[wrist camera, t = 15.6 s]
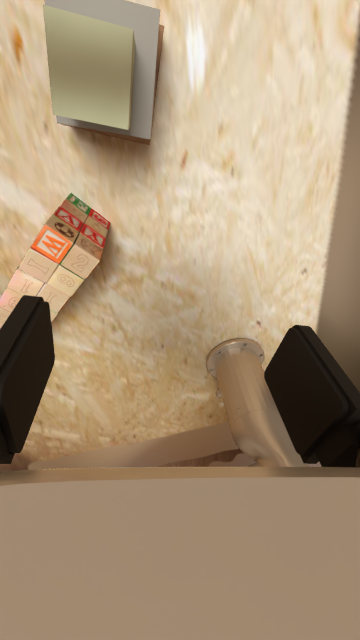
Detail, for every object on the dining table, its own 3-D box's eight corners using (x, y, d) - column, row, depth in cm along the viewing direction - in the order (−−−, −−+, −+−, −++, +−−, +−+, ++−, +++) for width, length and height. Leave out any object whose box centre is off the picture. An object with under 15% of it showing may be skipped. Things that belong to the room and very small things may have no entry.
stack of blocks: (41, 314, 47) (16, 368, 38) (4, 295, 44) (-34, 349, 35) (111, 221, 39) (100, 261, 29) (70, 190, 36) (44, 223, 26)
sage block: (131, 123, 24) (128, 129, 19) (71, 111, 23) (53, 114, 18) (135, 44, 21) (133, 29, 16) (66, 26, 20) (42, 4, 15)
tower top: (149, 133, 29) (150, 139, 25) (69, 119, 27) (57, 123, 23) (157, 24, 24) (160, 9, 20) (60, -1, 22) (42, -22, 18)
